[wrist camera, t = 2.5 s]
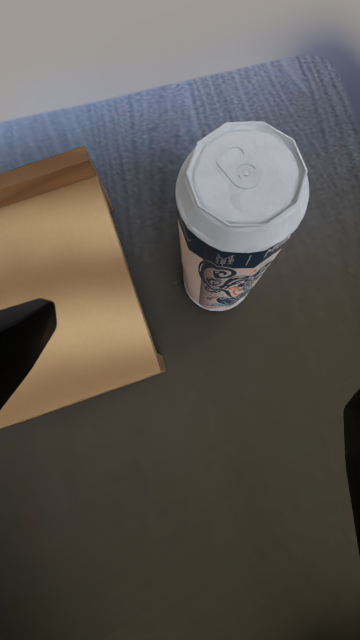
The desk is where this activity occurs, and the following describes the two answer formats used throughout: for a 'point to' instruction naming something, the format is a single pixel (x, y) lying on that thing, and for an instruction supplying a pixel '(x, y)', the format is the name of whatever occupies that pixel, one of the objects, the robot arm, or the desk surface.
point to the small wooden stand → (70, 285)
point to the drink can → (237, 209)
